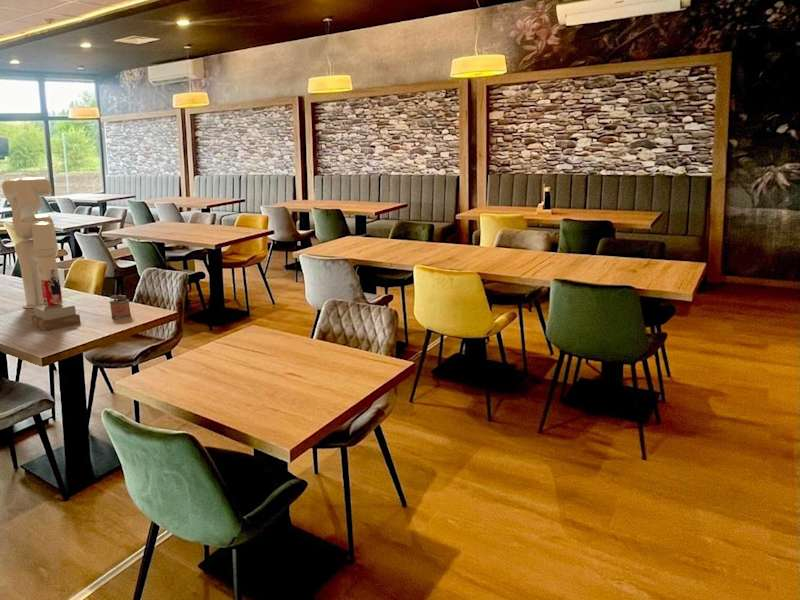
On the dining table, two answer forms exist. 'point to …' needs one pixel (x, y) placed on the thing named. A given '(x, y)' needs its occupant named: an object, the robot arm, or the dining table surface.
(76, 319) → the tower base
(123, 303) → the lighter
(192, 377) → the dining table surface
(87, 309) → the dining table surface
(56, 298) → the soda can
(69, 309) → the tower top
